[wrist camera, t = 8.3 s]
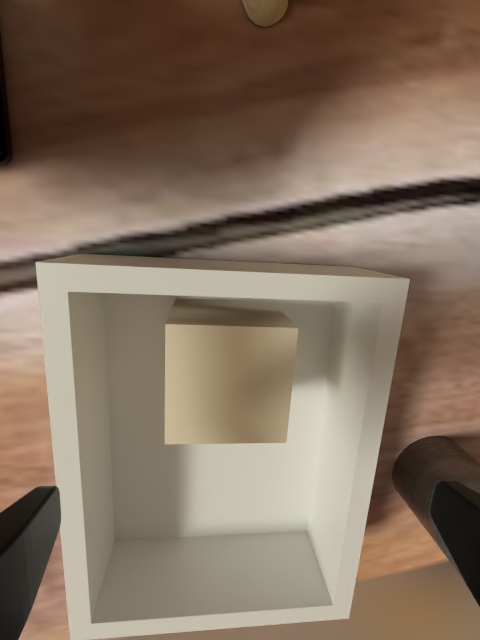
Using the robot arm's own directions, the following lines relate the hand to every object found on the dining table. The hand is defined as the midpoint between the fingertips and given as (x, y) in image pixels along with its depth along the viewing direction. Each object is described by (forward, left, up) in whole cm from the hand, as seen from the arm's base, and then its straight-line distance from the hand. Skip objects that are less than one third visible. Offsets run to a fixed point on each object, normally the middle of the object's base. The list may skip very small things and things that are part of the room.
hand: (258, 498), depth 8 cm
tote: (+4, 0, -11) cm, 12 cm away
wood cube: (0, 0, -11) cm, 11 cm away
